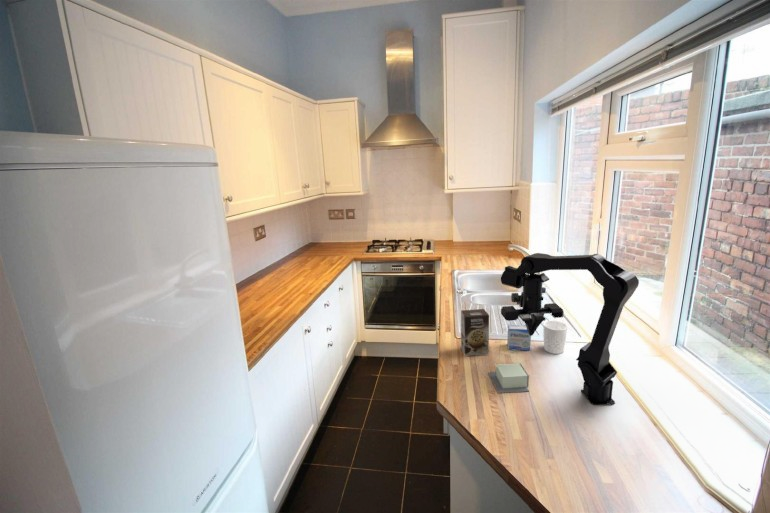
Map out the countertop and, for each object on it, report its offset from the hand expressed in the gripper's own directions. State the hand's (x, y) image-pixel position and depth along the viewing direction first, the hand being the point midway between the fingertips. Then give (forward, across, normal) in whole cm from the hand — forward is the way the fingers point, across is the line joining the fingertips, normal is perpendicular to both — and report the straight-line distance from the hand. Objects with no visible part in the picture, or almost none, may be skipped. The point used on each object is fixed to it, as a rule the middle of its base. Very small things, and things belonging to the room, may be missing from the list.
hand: (530, 335), depth 118 cm
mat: (+12, +10, +8) cm, 18 cm away
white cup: (+12, -13, -10) cm, 20 cm away
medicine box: (+12, -1, -13) cm, 18 cm away
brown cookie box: (+12, +16, -12) cm, 23 cm away
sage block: (+10, +5, +8) cm, 13 cm away
